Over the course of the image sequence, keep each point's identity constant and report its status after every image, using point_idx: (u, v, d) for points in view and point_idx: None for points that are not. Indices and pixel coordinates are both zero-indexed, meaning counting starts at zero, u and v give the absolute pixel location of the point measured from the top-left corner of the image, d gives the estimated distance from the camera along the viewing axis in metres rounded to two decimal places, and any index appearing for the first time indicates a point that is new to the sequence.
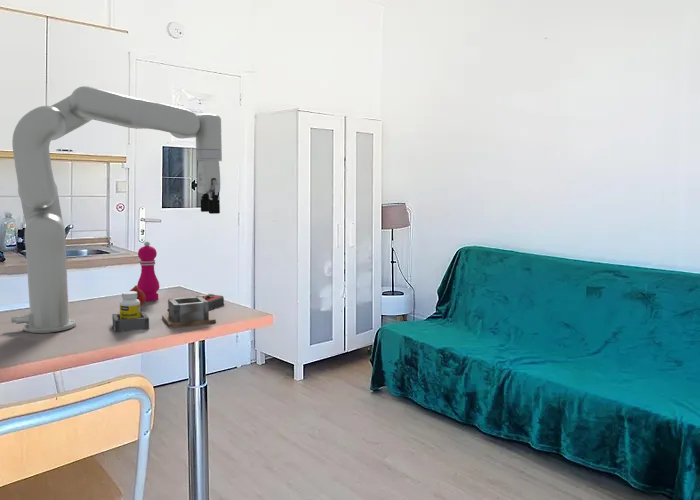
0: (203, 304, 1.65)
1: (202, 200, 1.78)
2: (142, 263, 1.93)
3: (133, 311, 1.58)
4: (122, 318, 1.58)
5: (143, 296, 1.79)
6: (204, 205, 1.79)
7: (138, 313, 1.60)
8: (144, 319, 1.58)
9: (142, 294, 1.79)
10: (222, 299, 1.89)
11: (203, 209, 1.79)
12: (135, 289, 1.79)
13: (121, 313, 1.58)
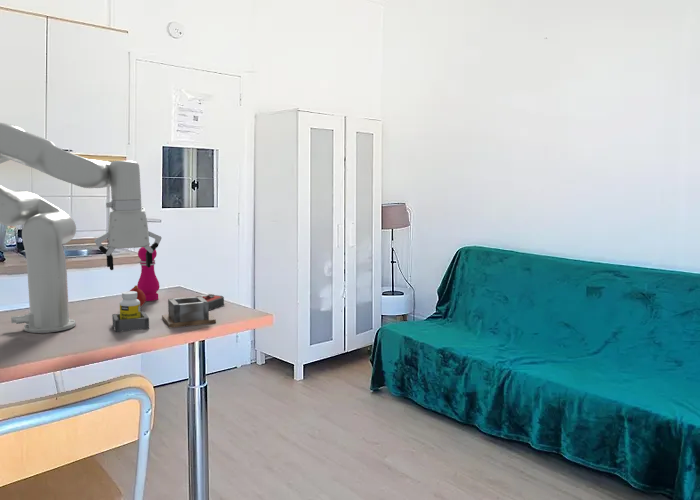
0: (203, 304, 1.65)
1: (112, 257, 1.55)
2: (142, 263, 1.93)
3: (133, 311, 1.58)
4: (122, 318, 1.58)
5: (143, 296, 1.79)
6: (112, 262, 1.56)
7: (138, 313, 1.60)
8: (144, 319, 1.58)
9: (142, 294, 1.79)
10: (222, 299, 1.89)
11: None
12: (135, 289, 1.79)
13: (121, 313, 1.58)
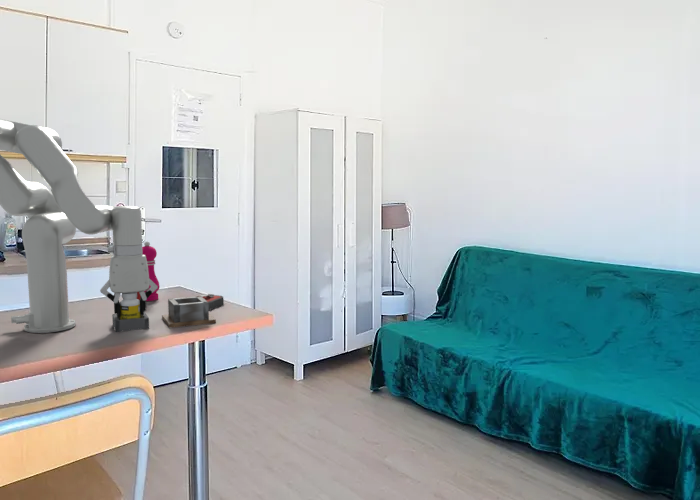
0: (203, 304, 1.65)
1: None
2: None
3: (133, 311, 1.58)
4: (122, 318, 1.58)
5: None
6: None
7: (138, 313, 1.60)
8: (144, 319, 1.58)
9: None
10: (222, 299, 1.90)
11: None
12: None
13: (121, 313, 1.58)
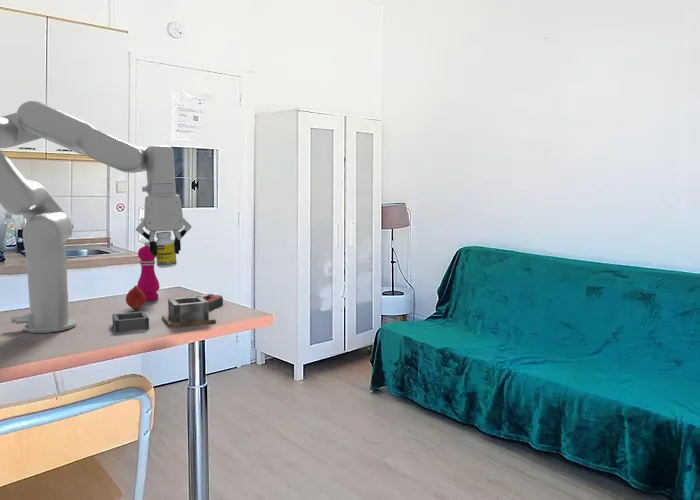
0: (203, 304, 1.65)
1: None
2: (142, 263, 1.93)
3: (169, 250, 1.61)
4: (158, 257, 1.61)
5: (143, 296, 1.79)
6: (155, 248, 1.61)
7: (173, 252, 1.62)
8: (144, 319, 1.58)
9: (142, 294, 1.79)
10: (221, 299, 1.90)
11: None
12: (135, 289, 1.79)
13: (157, 252, 1.61)
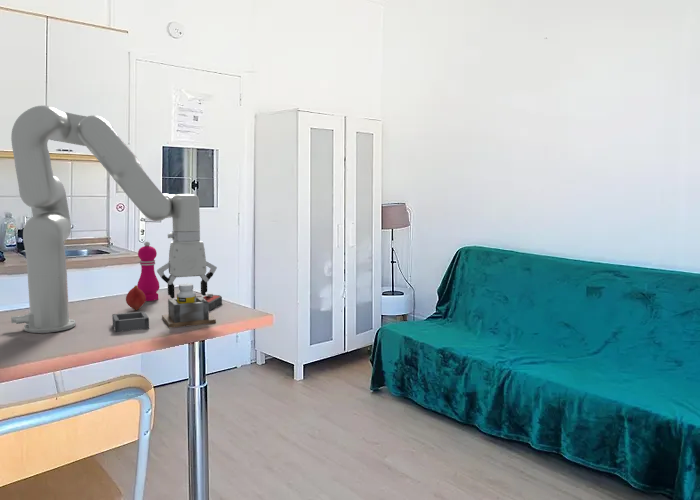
0: (203, 304, 1.65)
1: (173, 286, 1.64)
2: (142, 263, 1.93)
3: None
4: None
5: (143, 296, 1.79)
6: None
7: None
8: (144, 319, 1.58)
9: (142, 294, 1.79)
10: (221, 298, 1.91)
11: None
12: (135, 289, 1.79)
13: None
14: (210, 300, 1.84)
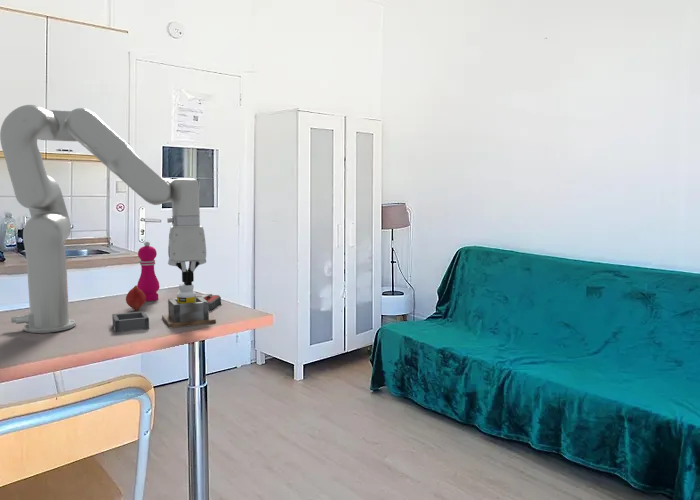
0: (203, 304, 1.65)
1: (188, 273, 1.66)
2: (142, 263, 1.93)
3: None
4: None
5: (143, 296, 1.79)
6: None
7: None
8: (144, 319, 1.58)
9: (142, 294, 1.79)
10: (220, 298, 1.91)
11: None
12: (135, 289, 1.79)
13: None
14: (211, 300, 1.84)
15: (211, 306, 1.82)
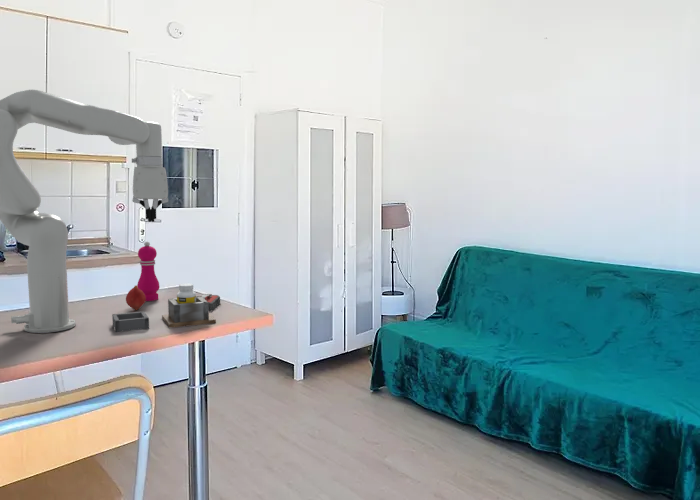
0: (203, 304, 1.65)
1: (150, 210, 1.79)
2: (142, 263, 1.93)
3: None
4: None
5: (143, 296, 1.79)
6: (150, 215, 1.79)
7: None
8: (144, 319, 1.58)
9: (142, 294, 1.79)
10: (219, 298, 1.91)
11: (151, 219, 1.79)
12: (135, 289, 1.79)
13: None
14: (211, 300, 1.85)
15: (212, 306, 1.82)
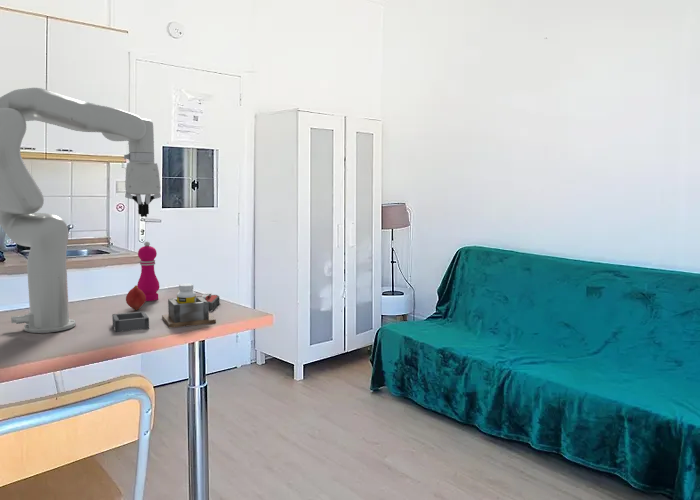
0: (203, 304, 1.65)
1: None
2: (142, 263, 1.93)
3: None
4: None
5: (143, 296, 1.79)
6: None
7: None
8: (144, 319, 1.58)
9: (142, 294, 1.79)
10: (218, 298, 1.91)
11: None
12: (135, 289, 1.79)
13: None
14: (212, 300, 1.85)
15: (213, 306, 1.82)
